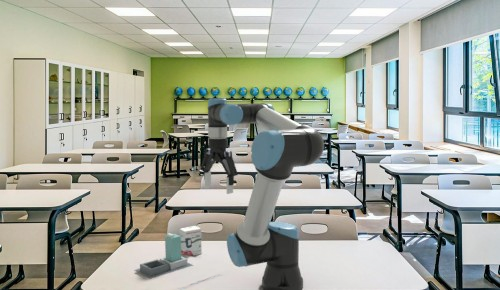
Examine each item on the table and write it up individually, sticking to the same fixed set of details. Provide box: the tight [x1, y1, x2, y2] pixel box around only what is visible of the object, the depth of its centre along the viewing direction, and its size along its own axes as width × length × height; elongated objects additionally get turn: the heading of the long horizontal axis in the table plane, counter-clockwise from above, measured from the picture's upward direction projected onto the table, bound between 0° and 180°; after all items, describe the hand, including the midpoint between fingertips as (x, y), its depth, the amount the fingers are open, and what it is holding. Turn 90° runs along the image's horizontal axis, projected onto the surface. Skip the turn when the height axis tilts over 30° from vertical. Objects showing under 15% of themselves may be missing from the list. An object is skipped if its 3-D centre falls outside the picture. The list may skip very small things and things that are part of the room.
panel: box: [134, 255, 194, 280], centre depth 185 cm, size 12×20×4 cm, turn 134°
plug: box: [164, 232, 182, 263], centre depth 187 cm, size 4×4×13 cm
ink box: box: [178, 225, 203, 257], centre depth 203 cm, size 8×5×12 cm, turn 123°
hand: (218, 190), depth 185 cm, fingers open, 13 cm apart
